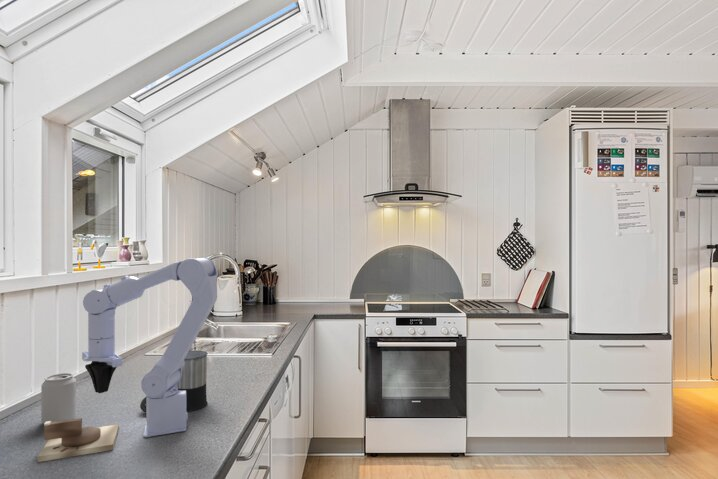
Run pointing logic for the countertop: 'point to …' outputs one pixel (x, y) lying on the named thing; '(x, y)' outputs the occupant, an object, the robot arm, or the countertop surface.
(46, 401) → the can
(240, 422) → the countertop surface
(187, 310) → the robot arm
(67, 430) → the dial
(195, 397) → the milk frother
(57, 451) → the dial plate
